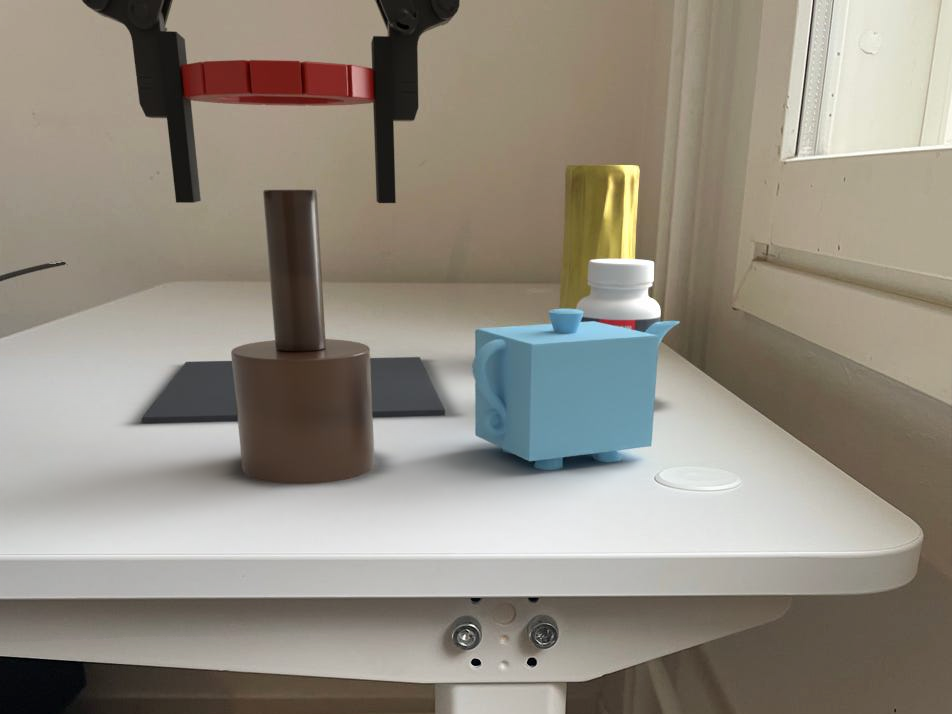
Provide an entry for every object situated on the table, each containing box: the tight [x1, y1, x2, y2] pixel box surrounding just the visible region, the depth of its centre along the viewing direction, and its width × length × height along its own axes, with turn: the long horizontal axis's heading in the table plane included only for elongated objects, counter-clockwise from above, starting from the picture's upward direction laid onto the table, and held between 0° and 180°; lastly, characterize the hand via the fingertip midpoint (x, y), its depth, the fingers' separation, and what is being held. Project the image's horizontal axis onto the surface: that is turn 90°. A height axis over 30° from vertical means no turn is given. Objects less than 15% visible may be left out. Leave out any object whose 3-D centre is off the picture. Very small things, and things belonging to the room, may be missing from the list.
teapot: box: [471, 308, 681, 471], centre depth 53 cm, size 12×6×8 cm, turn 116°
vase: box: [558, 164, 641, 309], centre depth 75 cm, size 6×6×14 cm
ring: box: [181, 59, 375, 107], centre depth 45 cm, size 8×8×1 cm
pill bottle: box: [576, 258, 661, 333], centre depth 64 cm, size 5×5×9 cm
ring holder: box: [230, 188, 376, 485], centre depth 49 cm, size 7×7×13 cm
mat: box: [141, 356, 446, 425], centre depth 70 cm, size 20×18×1 cm
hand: (288, 201), depth 47 cm, fingers closed on ring, 8 cm apart
